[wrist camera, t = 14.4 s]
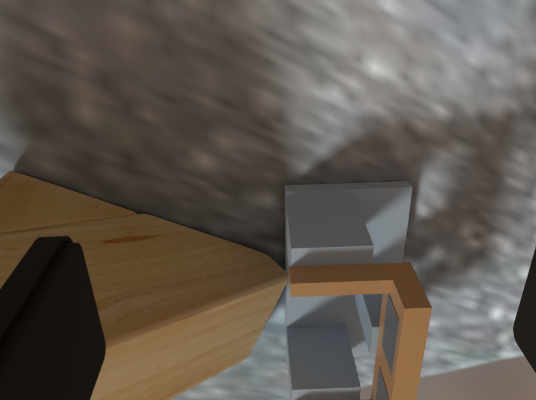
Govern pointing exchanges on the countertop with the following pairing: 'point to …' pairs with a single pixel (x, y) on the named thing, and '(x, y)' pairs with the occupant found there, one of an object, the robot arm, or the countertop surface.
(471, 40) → the countertop surface
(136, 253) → the knife block
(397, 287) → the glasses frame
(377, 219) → the gray blocky stand
